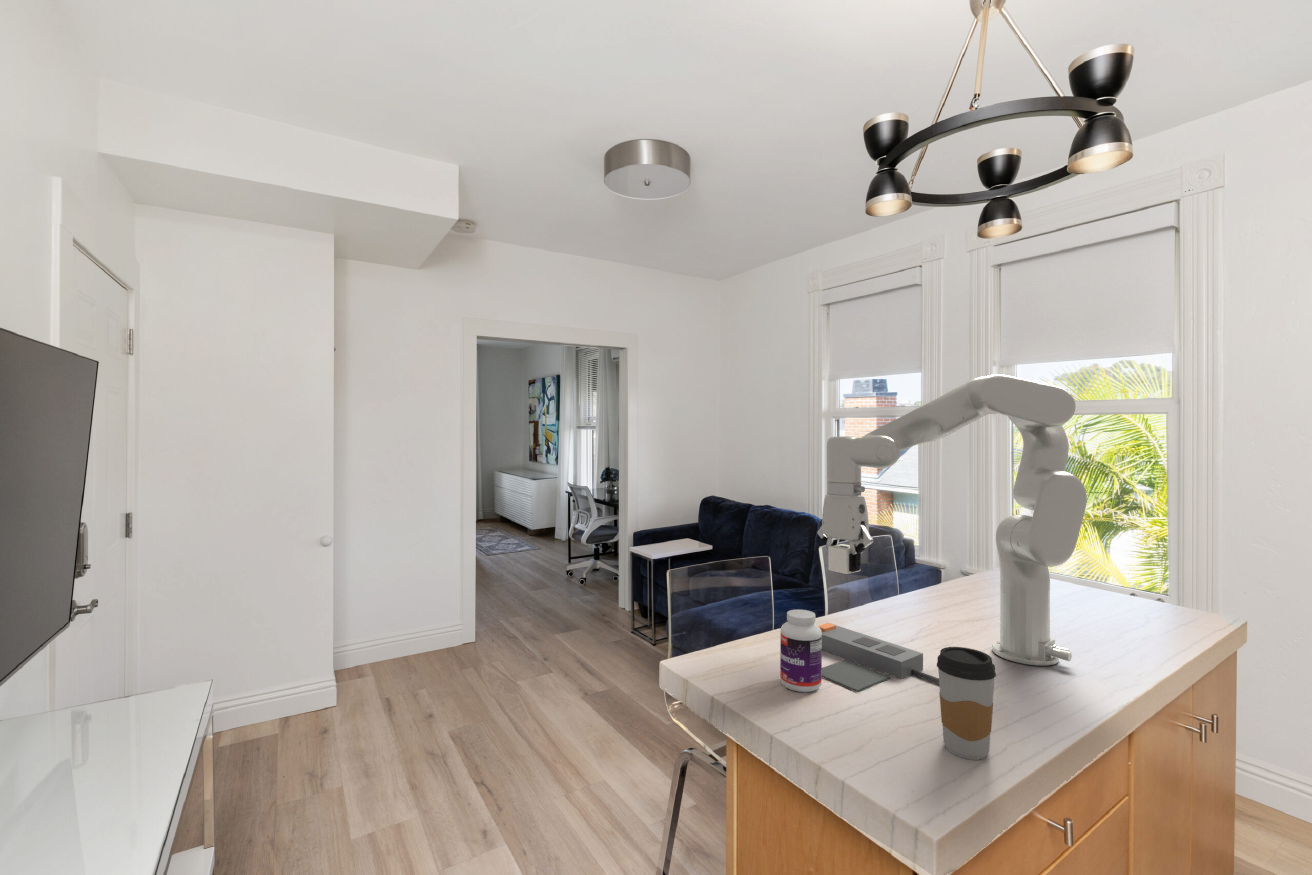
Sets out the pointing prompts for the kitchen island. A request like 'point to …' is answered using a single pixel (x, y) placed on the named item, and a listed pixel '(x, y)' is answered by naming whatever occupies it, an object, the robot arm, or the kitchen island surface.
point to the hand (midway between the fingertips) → (844, 567)
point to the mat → (853, 675)
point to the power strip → (873, 652)
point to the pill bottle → (801, 652)
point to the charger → (839, 558)
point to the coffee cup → (966, 700)
